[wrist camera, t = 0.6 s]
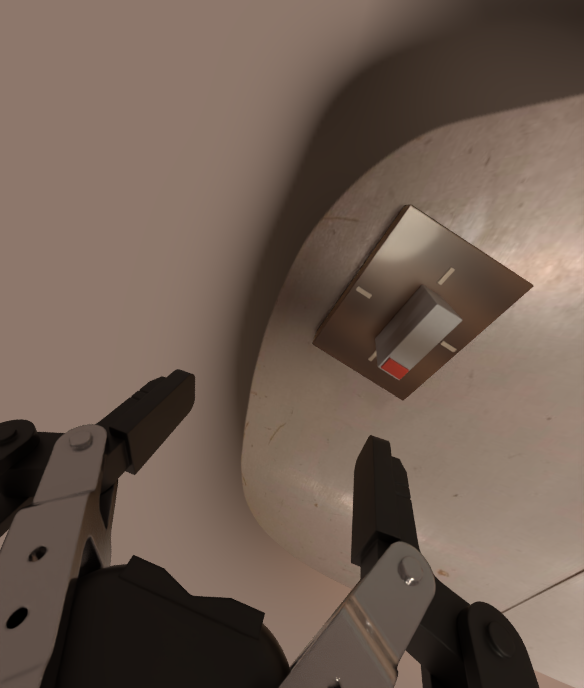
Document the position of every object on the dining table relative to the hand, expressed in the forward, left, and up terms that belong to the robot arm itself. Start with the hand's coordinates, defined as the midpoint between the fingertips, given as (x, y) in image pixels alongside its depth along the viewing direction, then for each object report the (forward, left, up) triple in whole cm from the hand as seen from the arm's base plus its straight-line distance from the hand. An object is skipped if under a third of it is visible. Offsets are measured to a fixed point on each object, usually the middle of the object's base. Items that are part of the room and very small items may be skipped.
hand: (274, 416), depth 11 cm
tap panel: (-3, +7, -17) cm, 19 cm away
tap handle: (-3, +7, -14) cm, 16 cm away
